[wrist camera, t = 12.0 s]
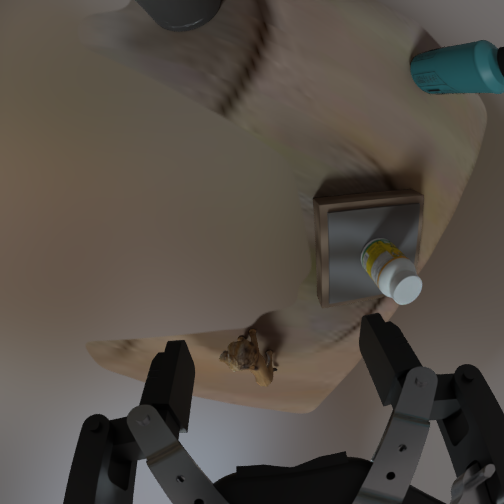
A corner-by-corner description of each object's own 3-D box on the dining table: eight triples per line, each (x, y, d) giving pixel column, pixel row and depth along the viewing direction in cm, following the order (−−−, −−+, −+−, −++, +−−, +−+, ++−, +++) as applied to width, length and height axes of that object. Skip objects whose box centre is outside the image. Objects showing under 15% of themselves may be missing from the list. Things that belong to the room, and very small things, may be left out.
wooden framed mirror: (312, 198, 38) (320, 206, 35) (411, 189, 38) (425, 196, 34) (317, 295, 45) (322, 310, 42) (403, 279, 45) (414, 292, 41)
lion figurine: (217, 328, 47) (213, 367, 39) (242, 314, 46) (242, 353, 38) (265, 372, 53) (269, 409, 45) (289, 361, 52) (295, 398, 44)
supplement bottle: (352, 255, 38) (380, 293, 29) (381, 229, 36) (416, 260, 27) (372, 277, 39) (400, 317, 31) (399, 253, 38) (432, 288, 29)
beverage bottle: (410, 96, 32) (514, 99, 14) (397, 54, 29) (496, 30, 11) (441, 93, 31) (541, 99, 13) (430, 53, 28) (527, 39, 10)
